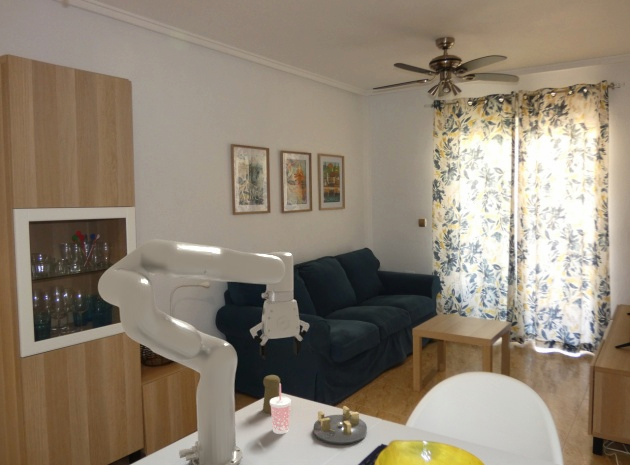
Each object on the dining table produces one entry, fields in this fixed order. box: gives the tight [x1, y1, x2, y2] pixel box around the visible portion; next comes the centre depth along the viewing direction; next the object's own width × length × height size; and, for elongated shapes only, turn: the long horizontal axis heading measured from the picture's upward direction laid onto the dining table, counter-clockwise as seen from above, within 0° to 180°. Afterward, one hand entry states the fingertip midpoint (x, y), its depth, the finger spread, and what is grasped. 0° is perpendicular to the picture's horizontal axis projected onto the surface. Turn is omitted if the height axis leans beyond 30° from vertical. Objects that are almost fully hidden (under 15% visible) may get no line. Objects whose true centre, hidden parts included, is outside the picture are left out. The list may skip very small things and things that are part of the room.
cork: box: [262, 374, 281, 415], centre depth 159 cm, size 6×6×11 cm
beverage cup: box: [270, 382, 292, 435], centre depth 145 cm, size 6×6×14 cm
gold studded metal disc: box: [313, 405, 368, 446], centre depth 144 cm, size 15×15×5 cm
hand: (280, 355), depth 144 cm, fingers open, 9 cm apart
